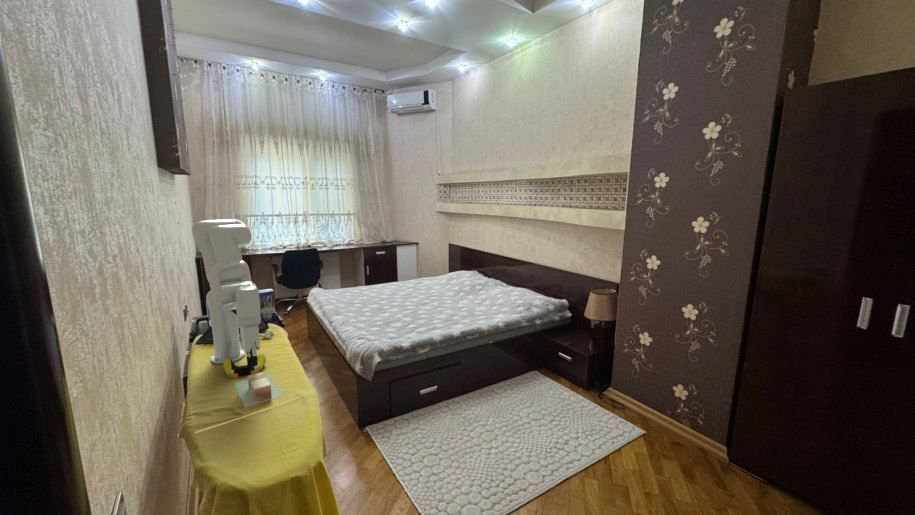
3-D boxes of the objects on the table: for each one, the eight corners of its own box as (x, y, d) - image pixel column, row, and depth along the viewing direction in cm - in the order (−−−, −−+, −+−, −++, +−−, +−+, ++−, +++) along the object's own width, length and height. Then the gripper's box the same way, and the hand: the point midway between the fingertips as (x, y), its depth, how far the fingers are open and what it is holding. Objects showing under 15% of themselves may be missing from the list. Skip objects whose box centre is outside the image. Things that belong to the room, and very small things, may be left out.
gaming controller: (224, 370, 150) (222, 382, 141) (223, 358, 149) (221, 368, 140) (266, 363, 157) (266, 374, 148) (265, 351, 156) (265, 361, 147)
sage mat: (234, 384, 139) (234, 383, 139) (268, 375, 147) (268, 373, 147) (245, 409, 124) (245, 407, 124) (283, 397, 132) (283, 395, 132)
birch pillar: (247, 375, 135) (254, 389, 126) (262, 371, 139) (270, 384, 130) (248, 388, 136) (255, 402, 127) (263, 383, 139) (271, 397, 130)
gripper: (233, 315, 139) (237, 360, 142) (241, 328, 127) (245, 376, 131) (255, 311, 143) (259, 355, 147) (265, 323, 132) (268, 370, 136)
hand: (252, 365), depth 139 cm, fingers closed
